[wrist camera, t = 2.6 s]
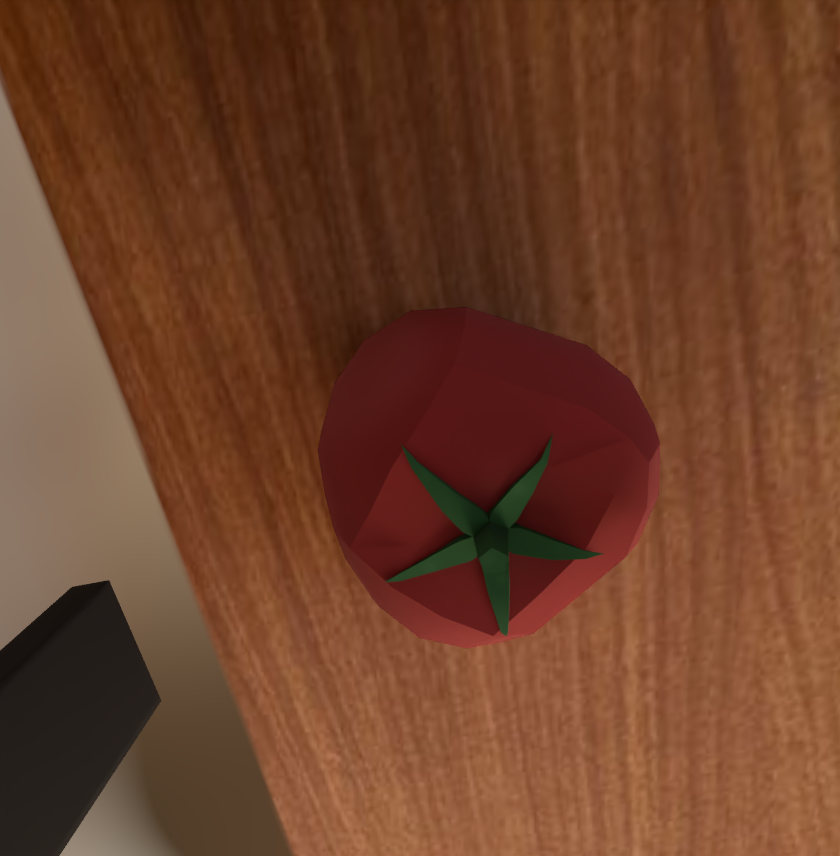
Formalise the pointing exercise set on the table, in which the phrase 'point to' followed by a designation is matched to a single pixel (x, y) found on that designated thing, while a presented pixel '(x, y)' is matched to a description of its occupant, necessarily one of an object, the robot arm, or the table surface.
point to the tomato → (483, 472)
